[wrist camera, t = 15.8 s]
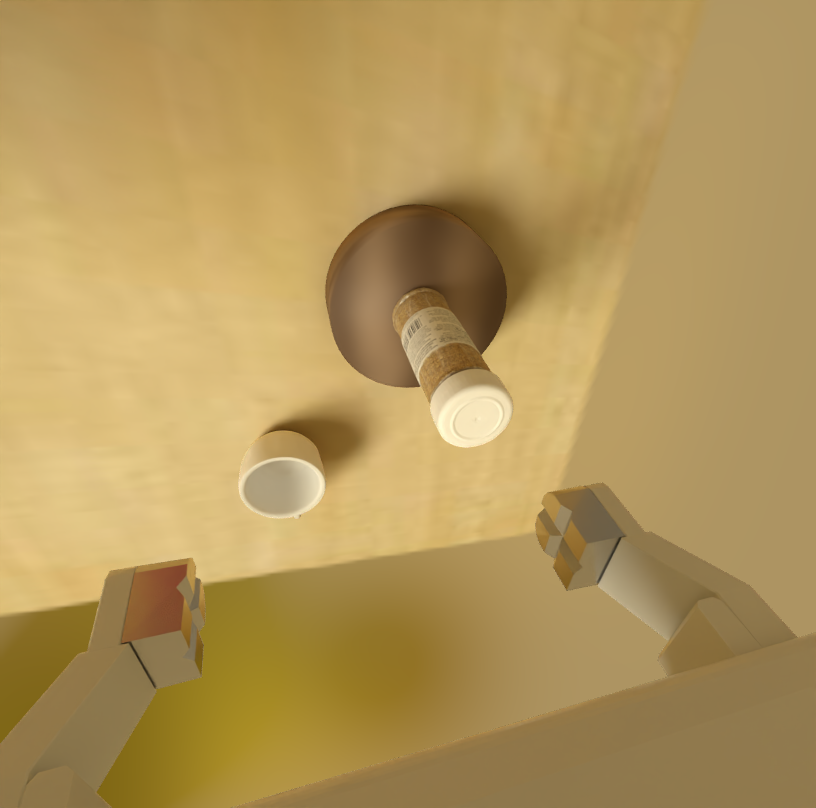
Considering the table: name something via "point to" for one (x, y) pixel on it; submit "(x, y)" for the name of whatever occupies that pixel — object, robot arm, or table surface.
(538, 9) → the table surface
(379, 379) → the disc
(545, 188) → the table surface
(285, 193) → the table surface
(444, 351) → the sprinkles bottle
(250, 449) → the teacup
